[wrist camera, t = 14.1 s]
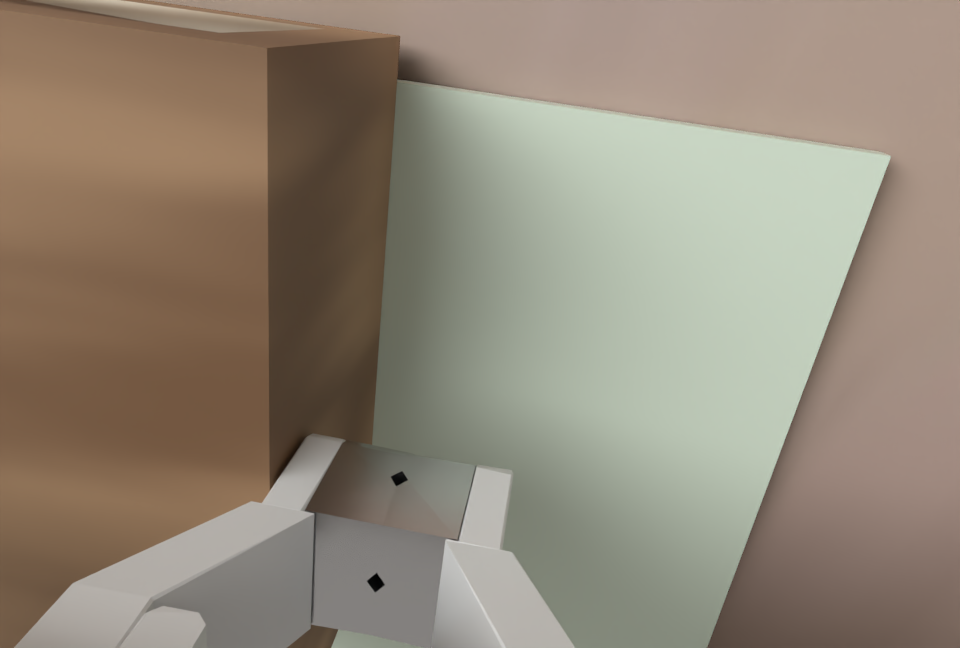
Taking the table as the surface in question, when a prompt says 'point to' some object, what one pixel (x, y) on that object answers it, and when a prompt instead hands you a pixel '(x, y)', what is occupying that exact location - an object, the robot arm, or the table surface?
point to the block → (177, 271)
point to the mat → (609, 336)
